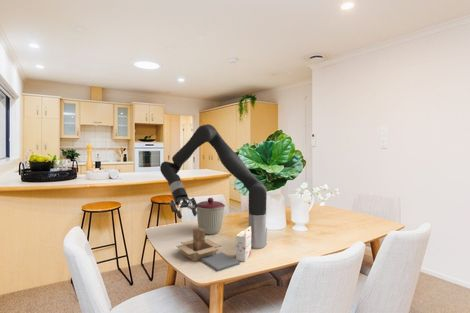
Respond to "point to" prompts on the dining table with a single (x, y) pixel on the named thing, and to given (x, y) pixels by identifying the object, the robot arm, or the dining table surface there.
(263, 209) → the robot arm
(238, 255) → the ink cartridge box
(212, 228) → the canister
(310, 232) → the dining table surface
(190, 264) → the dining table surface
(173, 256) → the dining table surface
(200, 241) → the walnut block
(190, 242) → the carton
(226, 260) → the mat
